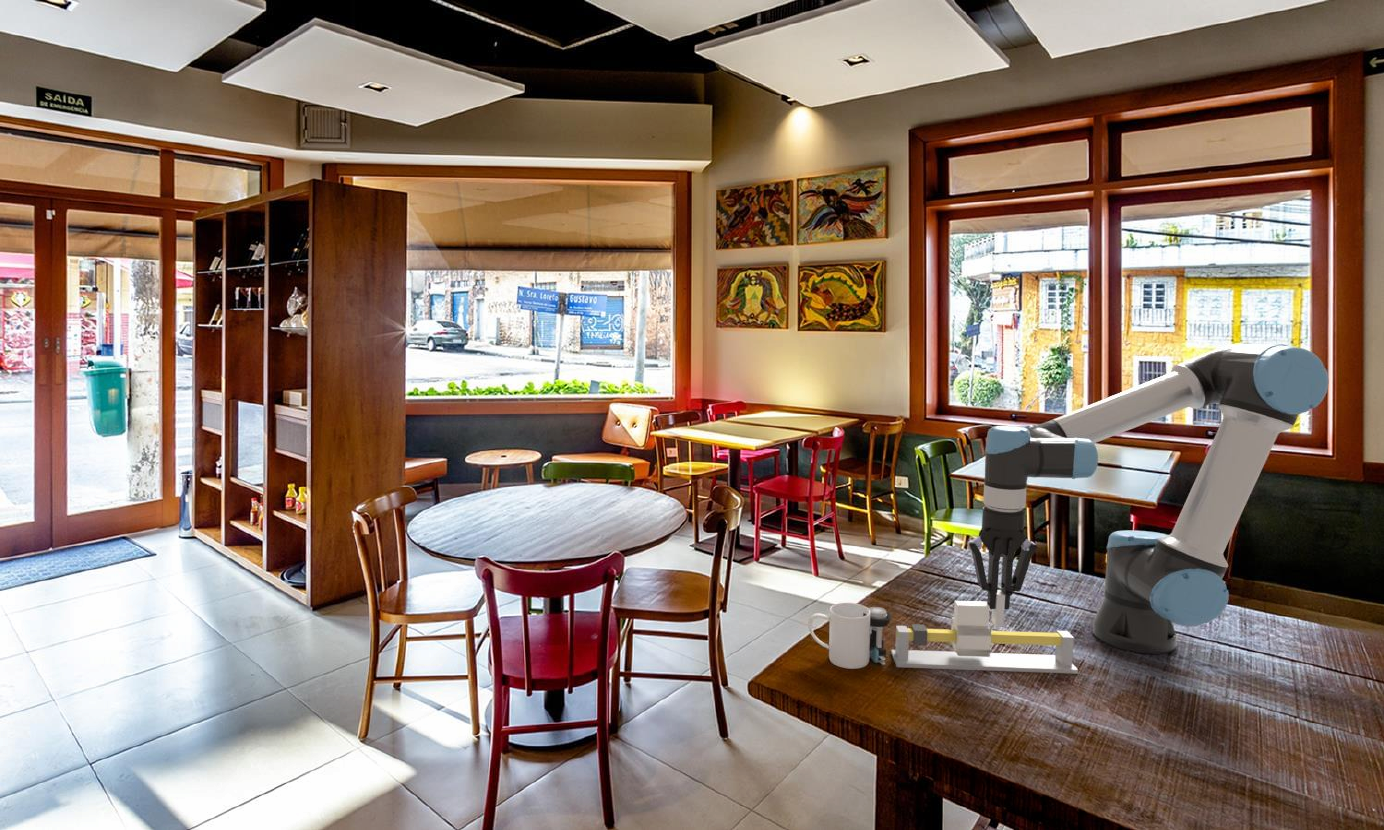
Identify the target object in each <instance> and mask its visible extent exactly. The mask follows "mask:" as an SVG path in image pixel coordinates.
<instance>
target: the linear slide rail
mask: <svg viewBox="0 0 1384 830" xmlns="http://www.w3.org/2000/svg"><path fill="white" fill-rule="evenodd" d="M896 628H897V630H898V639H897V637H896V636H895V643H894V644H895V648H894V649H891V650H890V651H891V656H892V659H893V662H894V663H895V667H896V668H904V669H905V668H908V669H910V668H911V669H935V670H936V669H937V670H939V669H940V670H964V671H965V670H966V671H971V670H972V671H987V672H988V671H990V672H993V671H995V672H996V671H997V672H1019V673H1023V672H1024V673H1049V674H1075V675H1078V674H1079V669H1078V667H1076V666H1075V664H1073V656H1074V640H1075V637H1074V636H1073V635H1072V634H1071V633H1070V632H1069V631H1068V630H1056V633H1059V634H1060V636H1061V637H1062V641H1061V646H1056V645H1055V654H1031V653H1030V654H1029V653H1028V654H1027V653H1008V652H1007V653H1003V652H1002V653H999V652H998V653H997V652H990V657H978V656H958V655H957V653H956V651H946V650H945V651H944V650H943V651H942V650H941V651H940V650H919V649H918V650H917V649H916V650H915V649H914V650H913V649H909V646H910V641H909V631H908V629H907V628H908V627H907V625H895V629H896Z"/></svg>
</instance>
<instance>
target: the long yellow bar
mask: <svg viewBox="0 0 1384 830" xmlns="http://www.w3.org/2000/svg"><path fill="white" fill-rule="evenodd" d="M910 624H911V623H910ZM907 629H908V631H909V642H910V641H911V642H912V645H914V646H927V645H928V642H941V643H951V642H957V631H956V630H951V629H943V628H942V629H940V628H927V627H926V625H925V624H919V623H918V624H917V623H915V624H913V623H912V624H911V627H910V628H909V627H907ZM896 637H897V639H898V630H897V628H896V627H895V638H896ZM1061 641H1062V637H1061V636H1060V634H1059V633H1057V632H1046V631H1044V632H1041V631H1013V630H1012V631H1010V630H1009V631H1008V630H1007V631H1005V630H1004V631H1003V630H1001V631H1000V630H991V643H990V644H995V645H996V644H999V645H1000V644H1001V645H1003V644H1005V645H1028V646H1030V645H1031V646H1033V645H1034V646H1055V647H1056V646H1061Z"/></svg>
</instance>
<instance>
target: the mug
mask: <svg viewBox="0 0 1384 830" xmlns="http://www.w3.org/2000/svg"><path fill="white" fill-rule="evenodd" d="M863 613H864V614H866V616H863ZM817 618H822V619H824V620H826V621H827V622H829V632H828V633H829V634H828V635H829V639H828V644H827V643H826V642H823V641H822V640H820V639H819V638H818V636H817V635H816V634H815V632H814V631H813V624H812V623H813V622H814V620H815V619H817ZM807 624H808V631H809V633H810V635H811V637H812V638H813V640H814V641H815V642H816V643H817V644H818V645H820V646H822V647H823V648H825V649H826V650H828V658H829V661H830V663H831V664H833V665H835V666H837V667H839V668H843V669H849V670H854V669H855V670H856V669H861V668H864V667H866V666H867V665H869V663H870V658H869V650H870V631H871V626H870V610H869V607H867V606H865V605H863V604H859V603H854V602H839V603H835V604H833V605H831V606H830V607H829V616H828V615H826V614H824V613H821V612H820V613H819V612H818V613H813V614H812V615H810V617H809V619H808V623H807Z"/></svg>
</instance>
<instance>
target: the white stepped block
mask: <svg viewBox="0 0 1384 830" xmlns="http://www.w3.org/2000/svg"><path fill="white" fill-rule="evenodd" d="M990 610H991V609H990V606H989V605H988V604H987V601H986V600H985V601H982V600H981V601H980V600H979V601H977V600H954V610H953V616H951V629H950V630H956V631H957V642H950V644H951V647H952V648H953V649H954V652H956V653H957V655H958V656H978V657H990V653H991V644H992V643H991V631H992V629H991V627H990Z"/></svg>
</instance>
